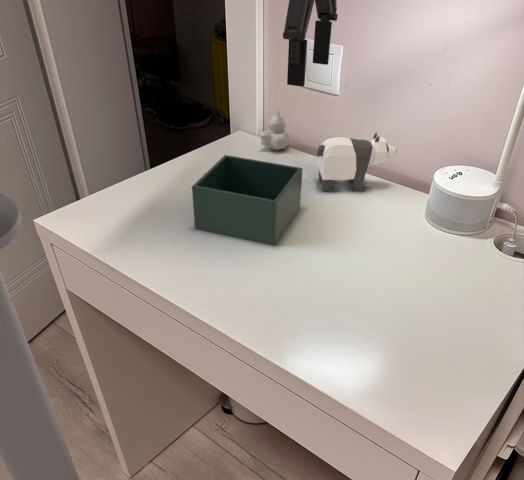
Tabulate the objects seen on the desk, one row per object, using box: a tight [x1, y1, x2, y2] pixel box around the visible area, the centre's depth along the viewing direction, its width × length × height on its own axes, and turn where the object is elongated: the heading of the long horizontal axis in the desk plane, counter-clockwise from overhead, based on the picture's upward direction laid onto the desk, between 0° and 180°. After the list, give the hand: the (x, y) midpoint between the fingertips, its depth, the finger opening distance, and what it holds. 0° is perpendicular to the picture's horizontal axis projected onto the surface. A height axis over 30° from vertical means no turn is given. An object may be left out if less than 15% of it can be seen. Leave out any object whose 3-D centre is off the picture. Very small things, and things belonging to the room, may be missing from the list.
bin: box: [191, 154, 304, 246], centre depth 89 cm, size 14×13×8 cm
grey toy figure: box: [259, 110, 290, 151], centre depth 111 cm, size 5×7×8 cm
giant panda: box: [316, 132, 398, 192], centre depth 99 cm, size 15×6×10 cm, turn 95°
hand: (308, 73), depth 91 cm, fingers open, 13 cm apart
